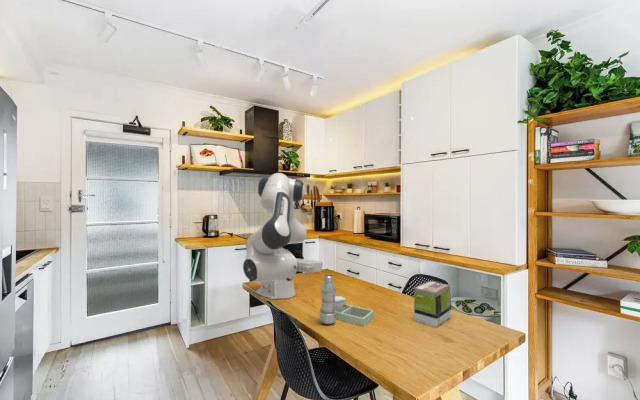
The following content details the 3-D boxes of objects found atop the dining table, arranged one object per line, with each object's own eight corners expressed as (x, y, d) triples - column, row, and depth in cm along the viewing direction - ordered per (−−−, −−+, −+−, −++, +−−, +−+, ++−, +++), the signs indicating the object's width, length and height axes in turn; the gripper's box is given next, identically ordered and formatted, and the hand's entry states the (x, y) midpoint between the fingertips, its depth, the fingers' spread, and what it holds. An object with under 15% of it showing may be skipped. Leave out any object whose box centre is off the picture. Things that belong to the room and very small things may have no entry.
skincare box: (334, 317, 131) (334, 300, 131) (327, 312, 136) (327, 296, 136) (345, 315, 134) (346, 298, 134) (339, 310, 139) (339, 294, 139)
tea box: (429, 311, 139) (429, 280, 139) (451, 318, 131) (451, 284, 131) (413, 320, 128) (413, 286, 128) (436, 328, 121) (436, 291, 121)
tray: (320, 315, 133) (320, 308, 133) (332, 307, 143) (332, 301, 143) (363, 326, 122) (363, 319, 122) (374, 317, 131) (374, 310, 131)
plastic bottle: (319, 320, 128) (319, 273, 128) (334, 319, 128) (335, 273, 128) (320, 326, 121) (321, 277, 121) (337, 326, 122) (337, 277, 122)
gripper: (306, 259, 101) (332, 257, 111) (269, 254, 115) (295, 253, 125) (305, 278, 101) (332, 274, 111) (268, 271, 114) (295, 268, 125)
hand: (312, 262), depth 118 cm, fingers open, 8 cm apart
